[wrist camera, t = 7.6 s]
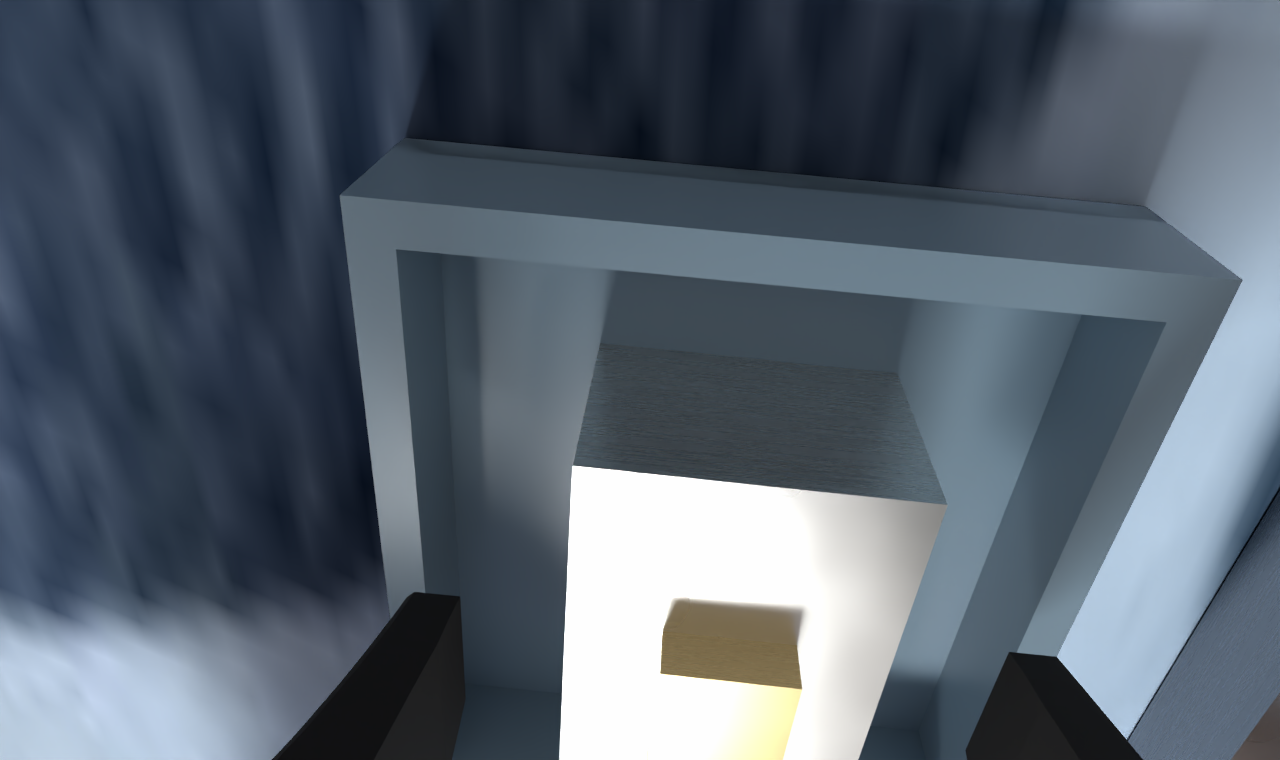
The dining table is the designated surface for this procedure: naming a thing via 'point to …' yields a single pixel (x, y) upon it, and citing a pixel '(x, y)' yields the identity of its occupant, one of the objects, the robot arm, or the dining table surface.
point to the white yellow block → (739, 556)
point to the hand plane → (1226, 669)
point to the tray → (769, 330)
